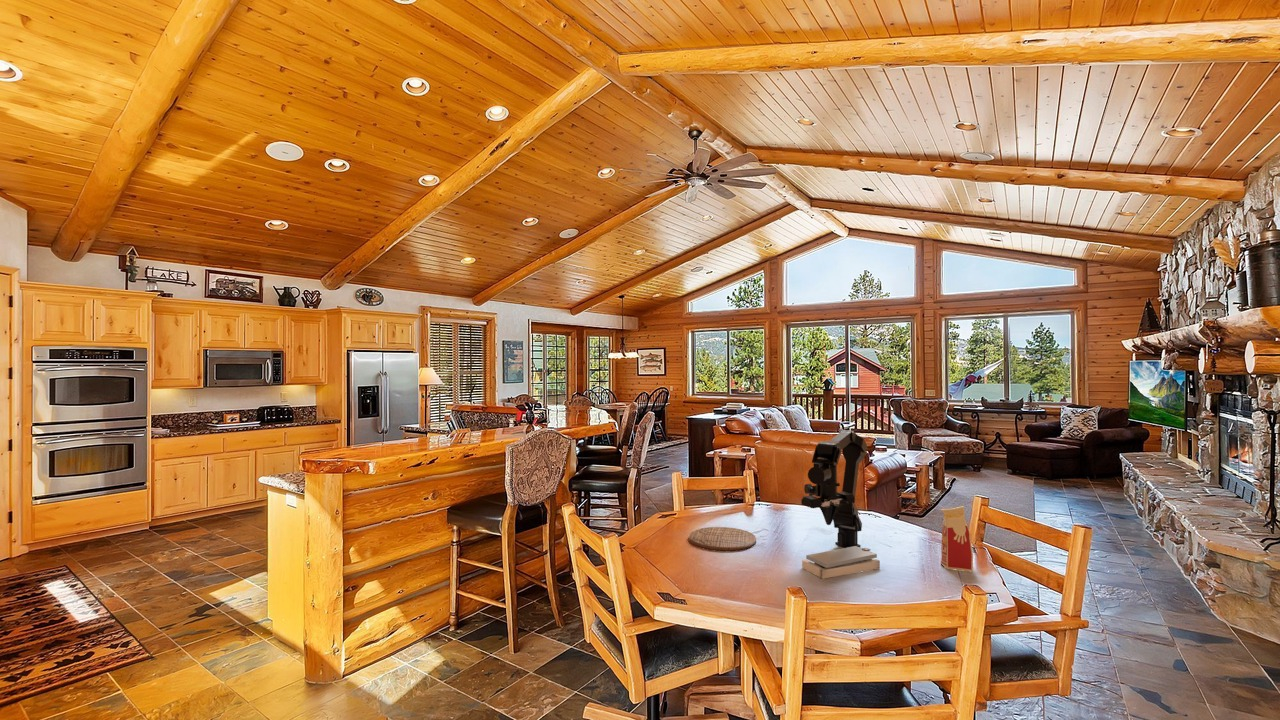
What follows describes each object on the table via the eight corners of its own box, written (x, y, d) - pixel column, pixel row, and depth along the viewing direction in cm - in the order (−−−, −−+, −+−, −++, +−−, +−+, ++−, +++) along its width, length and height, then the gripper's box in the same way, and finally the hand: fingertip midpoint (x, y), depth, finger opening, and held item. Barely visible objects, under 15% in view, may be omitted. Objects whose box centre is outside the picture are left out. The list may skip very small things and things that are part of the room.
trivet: (755, 554, 202) (755, 549, 202) (684, 549, 207) (684, 544, 207) (756, 533, 226) (756, 529, 226) (693, 529, 232) (693, 525, 232)
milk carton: (968, 563, 192) (968, 503, 192) (974, 572, 183) (974, 510, 183) (937, 560, 195) (937, 501, 195) (942, 569, 186) (942, 507, 186)
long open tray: (857, 558, 196) (857, 549, 196) (879, 568, 187) (879, 558, 187) (802, 567, 188) (802, 558, 188) (822, 578, 178) (822, 568, 178)
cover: (858, 548, 196) (858, 544, 196) (879, 557, 188) (879, 552, 188) (806, 558, 186) (806, 554, 186) (826, 567, 178) (826, 563, 178)
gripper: (833, 472, 207) (833, 515, 208) (791, 477, 200) (791, 521, 200) (855, 478, 197) (856, 523, 197) (812, 483, 190) (812, 530, 190)
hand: (828, 524), depth 197 cm, fingers closed
